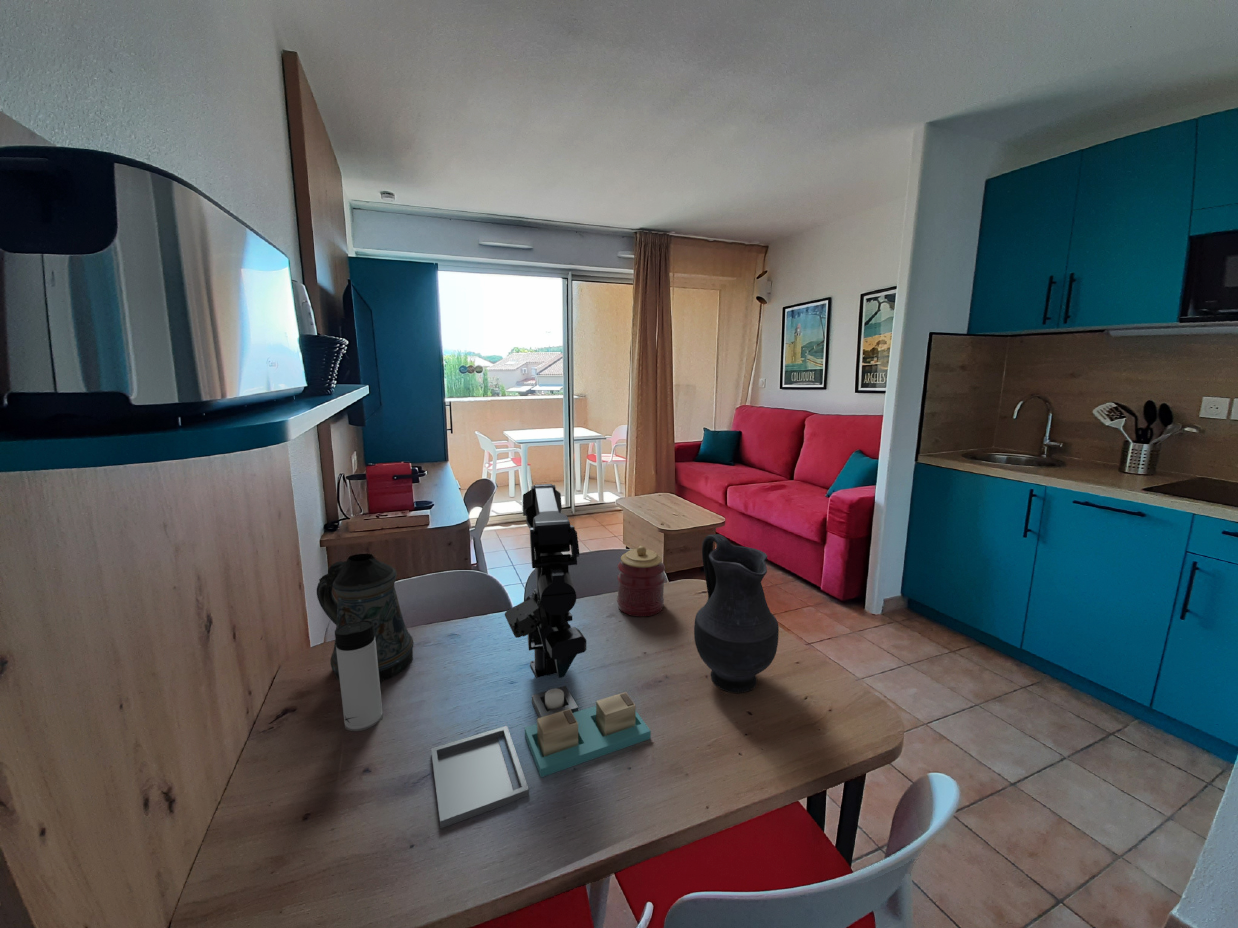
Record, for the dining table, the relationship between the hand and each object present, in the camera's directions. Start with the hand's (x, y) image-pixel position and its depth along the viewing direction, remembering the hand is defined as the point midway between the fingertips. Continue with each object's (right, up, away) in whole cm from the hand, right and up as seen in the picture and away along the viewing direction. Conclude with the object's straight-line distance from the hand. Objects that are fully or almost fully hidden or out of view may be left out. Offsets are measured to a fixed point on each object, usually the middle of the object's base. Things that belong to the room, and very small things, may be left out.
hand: (553, 663), depth 92 cm
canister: (+18, -2, +45) cm, 48 cm away
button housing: (0, -10, +2) cm, 11 cm away
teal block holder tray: (+7, -12, -5) cm, 15 cm away
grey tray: (-11, -13, -13) cm, 21 cm away
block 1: (+2, -11, -7) cm, 14 cm away
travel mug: (-35, -11, -1) cm, 37 cm away
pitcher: (+36, -9, +15) cm, 40 cm away
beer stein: (-44, -7, +17) cm, 47 cm away
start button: (0, -9, +2) cm, 9 cm away
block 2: (+12, -11, -3) cm, 16 cm away
